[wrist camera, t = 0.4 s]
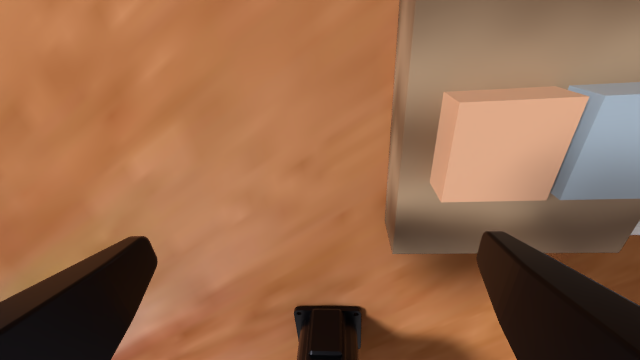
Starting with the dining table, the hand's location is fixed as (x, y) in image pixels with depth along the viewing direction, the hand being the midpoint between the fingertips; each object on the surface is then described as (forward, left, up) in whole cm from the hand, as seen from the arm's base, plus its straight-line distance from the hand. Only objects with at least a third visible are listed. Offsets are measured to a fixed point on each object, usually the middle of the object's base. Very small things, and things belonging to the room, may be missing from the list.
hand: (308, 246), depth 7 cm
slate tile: (-1, -14, -8) cm, 16 cm away
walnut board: (-1, -11, -12) cm, 16 cm away
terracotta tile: (-1, -8, -8) cm, 12 cm away
